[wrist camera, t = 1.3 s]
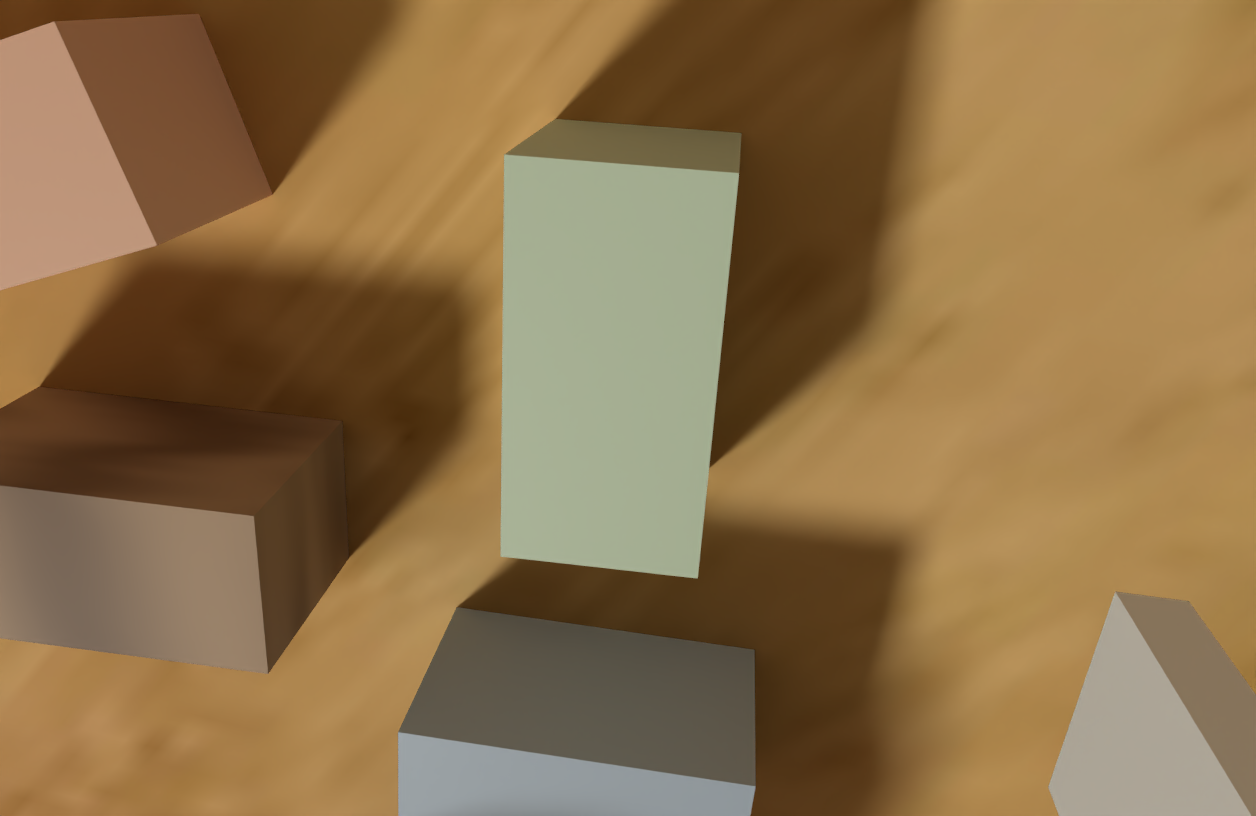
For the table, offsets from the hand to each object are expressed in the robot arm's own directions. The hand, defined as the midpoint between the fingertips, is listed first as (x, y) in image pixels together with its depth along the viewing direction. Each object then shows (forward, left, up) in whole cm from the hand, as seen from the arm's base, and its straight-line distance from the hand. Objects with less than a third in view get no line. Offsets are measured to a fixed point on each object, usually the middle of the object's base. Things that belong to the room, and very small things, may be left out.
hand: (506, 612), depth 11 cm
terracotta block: (+13, -2, -13) cm, 18 cm away
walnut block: (+11, +6, -13) cm, 18 cm away
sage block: (0, 0, -13) cm, 13 cm away
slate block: (0, +11, -13) cm, 17 cm away
